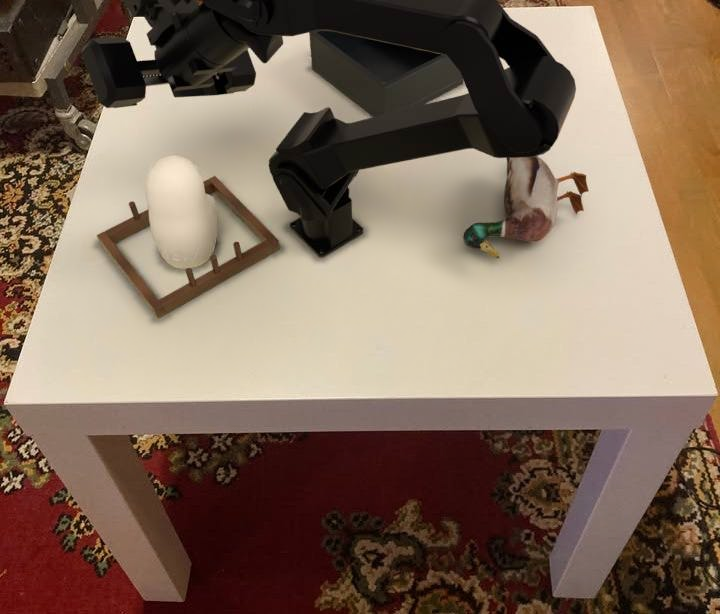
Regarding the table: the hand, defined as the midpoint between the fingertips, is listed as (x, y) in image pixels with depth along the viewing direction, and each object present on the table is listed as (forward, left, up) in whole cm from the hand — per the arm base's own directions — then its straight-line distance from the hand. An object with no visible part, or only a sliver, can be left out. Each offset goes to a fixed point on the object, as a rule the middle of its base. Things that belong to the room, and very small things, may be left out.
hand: (139, 97), depth 81 cm
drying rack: (-12, +3, -12) cm, 18 cm away
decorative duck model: (-32, -29, -13) cm, 45 cm away
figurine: (-12, +3, -13) cm, 18 cm away
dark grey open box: (-1, -36, -12) cm, 38 cm away
